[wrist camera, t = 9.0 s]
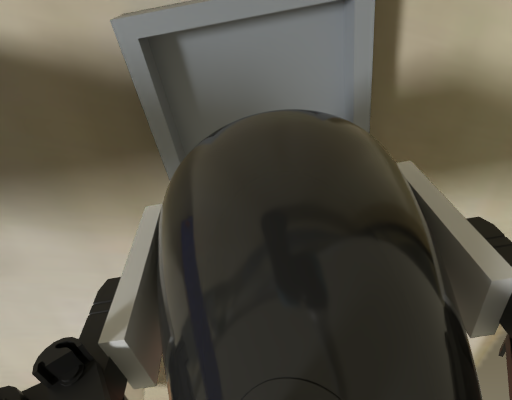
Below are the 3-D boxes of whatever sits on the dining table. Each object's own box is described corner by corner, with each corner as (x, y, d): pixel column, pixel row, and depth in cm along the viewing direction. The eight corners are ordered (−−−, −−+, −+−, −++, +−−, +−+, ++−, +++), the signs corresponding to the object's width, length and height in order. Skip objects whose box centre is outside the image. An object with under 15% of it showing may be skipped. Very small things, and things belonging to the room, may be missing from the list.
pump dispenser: (332, 30, 14) (1491, 726, 1) (389, 208, 19) (687, 652, 7) (128, 138, 16) (-256, 802, 3) (234, 271, 21) (242, 699, 9)
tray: (123, 14, 22) (109, 20, 19) (359, -33, 21) (376, -32, 19) (188, 202, 30) (185, 222, 28) (355, 173, 30) (366, 191, 27)
